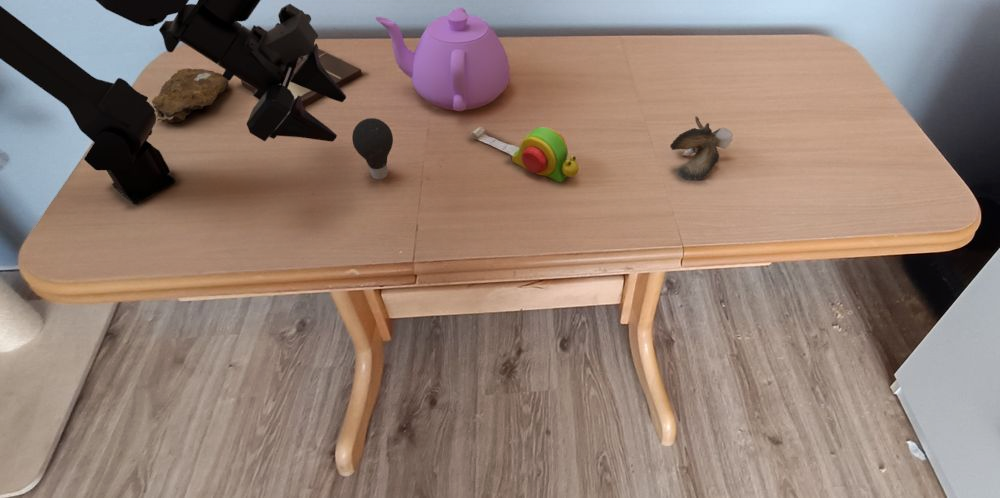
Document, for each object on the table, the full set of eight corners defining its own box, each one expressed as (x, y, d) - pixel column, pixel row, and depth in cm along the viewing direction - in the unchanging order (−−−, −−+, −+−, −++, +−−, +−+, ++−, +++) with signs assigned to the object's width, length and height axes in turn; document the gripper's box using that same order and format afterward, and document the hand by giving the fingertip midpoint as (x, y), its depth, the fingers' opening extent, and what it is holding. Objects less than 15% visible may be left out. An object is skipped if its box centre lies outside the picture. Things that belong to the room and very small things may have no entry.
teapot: (392, 60, 111) (381, -13, 101) (506, 57, 111) (507, -16, 101) (381, 129, 96) (366, 51, 86) (513, 125, 96) (514, 47, 86)
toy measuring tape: (563, 195, 85) (567, 159, 80) (462, 144, 93) (460, 109, 88) (587, 173, 88) (592, 137, 83) (488, 126, 96) (487, 91, 92)
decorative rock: (211, 131, 96) (240, 85, 107) (204, 109, 93) (234, 64, 104) (141, 128, 96) (176, 82, 106) (131, 106, 93) (168, 61, 103)
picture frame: (291, 114, 99) (289, 107, 98) (242, 86, 105) (240, 79, 104) (362, 75, 107) (361, 68, 106) (313, 51, 113) (311, 44, 112)
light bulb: (406, 173, 88) (398, 117, 81) (382, 194, 85) (371, 138, 78) (378, 161, 90) (367, 105, 83) (353, 181, 87) (339, 125, 80)
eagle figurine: (676, 131, 93) (656, 151, 87) (712, 103, 88) (693, 122, 82) (706, 167, 94) (688, 190, 87) (744, 142, 88) (727, 164, 82)
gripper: (242, 36, 61) (367, 122, 69) (280, -36, 74) (381, 44, 82) (195, 104, 66) (316, 175, 75) (238, 26, 79) (337, 95, 87)
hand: (340, 118), depth 80 cm, fingers open, 9 cm apart
